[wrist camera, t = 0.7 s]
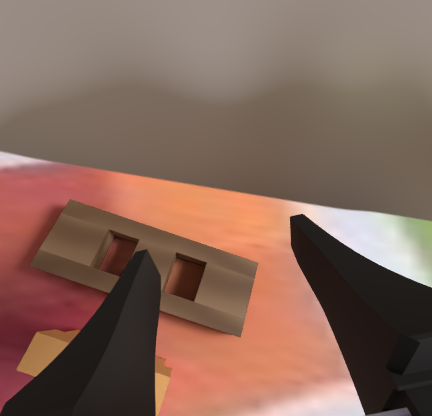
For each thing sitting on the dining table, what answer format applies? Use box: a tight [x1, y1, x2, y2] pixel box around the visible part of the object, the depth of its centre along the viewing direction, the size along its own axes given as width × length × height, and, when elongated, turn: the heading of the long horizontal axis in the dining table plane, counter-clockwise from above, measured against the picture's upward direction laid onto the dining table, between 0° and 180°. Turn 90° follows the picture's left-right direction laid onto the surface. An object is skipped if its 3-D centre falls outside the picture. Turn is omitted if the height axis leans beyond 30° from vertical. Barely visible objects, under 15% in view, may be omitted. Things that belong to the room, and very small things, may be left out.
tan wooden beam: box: [16, 329, 172, 416], centre depth 20 cm, size 2×10×6 cm, turn 73°
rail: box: [29, 199, 258, 337], centre depth 25 cm, size 7×20×2 cm, turn 73°
